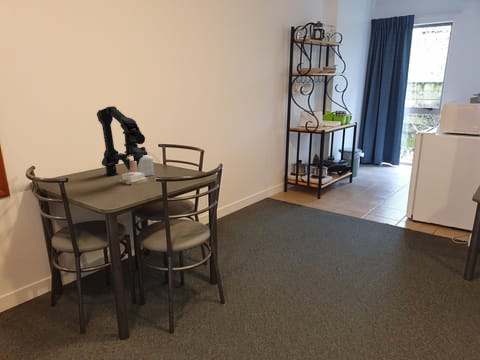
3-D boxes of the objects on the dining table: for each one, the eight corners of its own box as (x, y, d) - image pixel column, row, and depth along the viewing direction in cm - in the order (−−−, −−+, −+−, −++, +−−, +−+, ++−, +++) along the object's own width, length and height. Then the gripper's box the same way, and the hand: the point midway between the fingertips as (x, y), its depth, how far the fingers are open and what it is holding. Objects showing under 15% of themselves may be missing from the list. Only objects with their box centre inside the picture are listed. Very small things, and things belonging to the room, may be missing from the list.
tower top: (122, 178, 208) (121, 174, 207) (135, 175, 214) (134, 171, 214) (131, 181, 202) (131, 176, 202) (144, 177, 209) (144, 173, 208)
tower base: (120, 183, 208) (119, 179, 207) (135, 179, 216) (135, 175, 216) (132, 186, 202) (132, 181, 201) (147, 181, 210) (147, 177, 210)
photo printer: (152, 173, 226) (151, 154, 223) (155, 175, 223) (153, 155, 219) (136, 176, 221) (134, 156, 217) (138, 177, 217) (137, 157, 214)
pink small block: (126, 171, 207) (125, 161, 205) (133, 169, 210) (132, 159, 209) (132, 172, 204) (131, 162, 202) (139, 171, 208) (138, 161, 206)
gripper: (125, 146, 191) (128, 174, 195) (153, 141, 205) (154, 168, 210) (112, 144, 197) (115, 171, 201) (140, 139, 212) (142, 165, 216)
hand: (132, 169), depth 207 cm, fingers closed on pink small block, 5 cm apart
